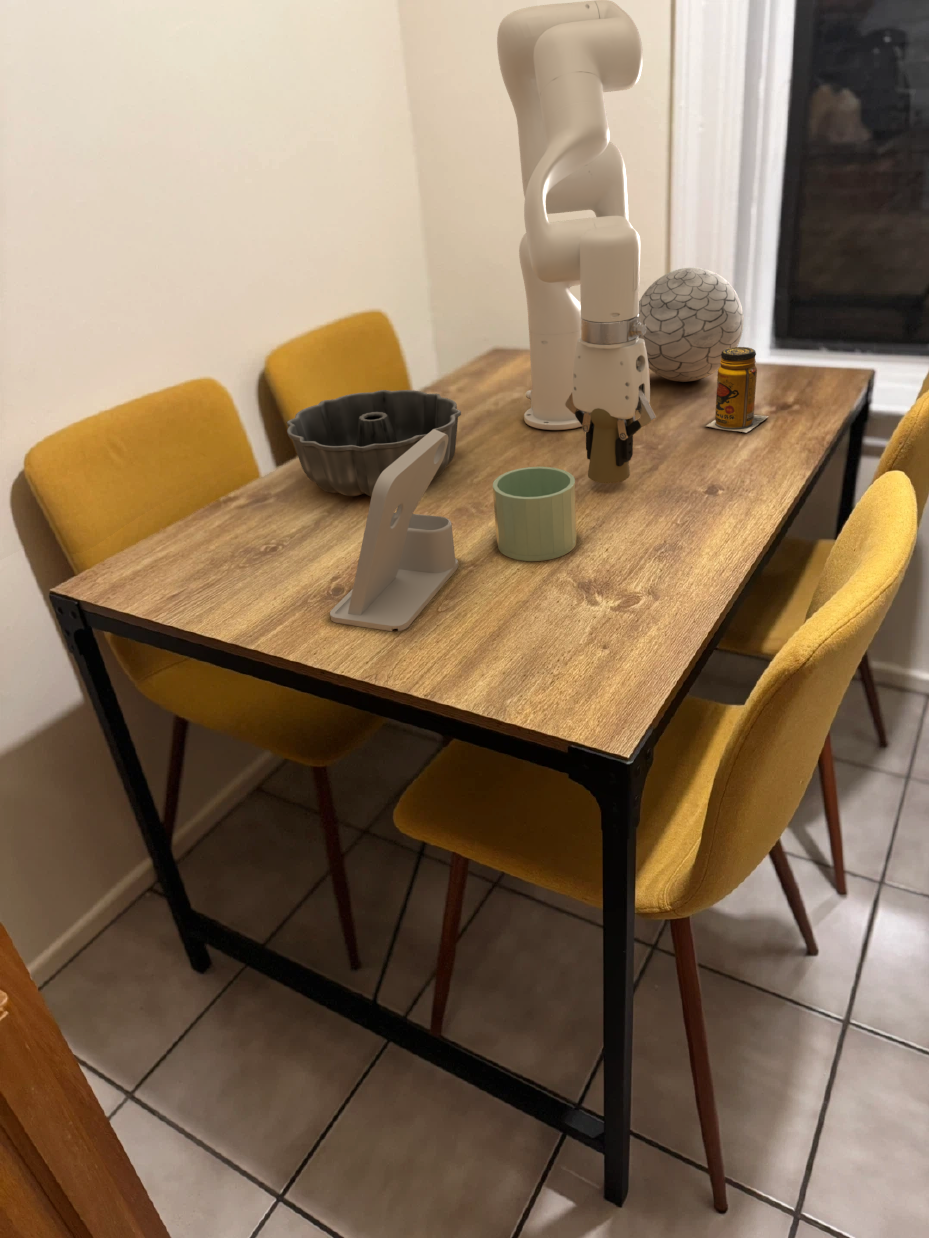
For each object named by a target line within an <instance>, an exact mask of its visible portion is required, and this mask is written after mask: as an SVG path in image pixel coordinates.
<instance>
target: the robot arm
mask: <svg viewBox="0 0 929 1238" xmlns="http://www.w3.org/2000/svg"><path fill="white" fill-rule="evenodd" d="M496 35H497V36H496V48H497V59H498V65H499V70H500V73H501V77H502V80H503V84H504V86H505V90H506V92H507V94H508V97H509V99H510V102H511V104H512V107H513V111H514V114H515V118H516V125H517V136H518V147H519V148H518V149H519V160H520V172H521V182H522V183H521V184H522V190H523V191H522V192H523V196H524V202H523V203H524V205H523V212H524V213H523V218H524V227H525V234H524V235H523V236H522V237H521V240H520V243H519V246H518V247H519V248H518V254H519V255H518V256H519V263H520V269H521V274H522V279H523V284H524V291H525V297H526V306H527V323H528V337H529V338H528V339H529V359H530V360H529V361H530V378H531V379H530V380H531V390H526V392H525V398H527V399H529V400H530V404H531V405H530V406H531V407H529V408H528V409H527V410H526V411H525V412H524V414H523V419H524V420H523V421H524V423H525V424H527V426H530V427H531V428H534V429H540V430H546V431H565V430H571V429H577V428H581V430H582V431H583V432H584V433H585V451H586V459H587V460H588V461H590V456H591V449H592V440H593V431H594V424H593V422H592V420H591V416H590V413H591V412H592V411H593V410H594V409H597V408H600V409H604V410H605V411H607V412H608V413H609V414H610V415H611V416H613V417H616V418H618V419H617V426H618V432H619V438H618V439H616V441H615V455H616V465H617V466H622V465H623V464H624V463H625V462H628V461H629V462H630V461H631V460H632V457H633V453H634V435H635V434H637V432H638V431H640V430H641V429H642V428H643V427H645V426H647V425H649V424H651V423H652V422H654V421H656V419H657V416H656V414H655V412H654V410H653V408H652V406H651V404H650V403H651V385H650V383H651V382H650V380H651V379H650V369H649V366H648V358H647V352H646V347H645V342H644V339H641V338H638V337H639V335H645V333H646V330H647V327H646V325H644V324H641V323H640V316H639V301H640V280H641V279H640V278H641V268H640V267H641V237H640V235H639V232H638V231H637V230H636V229H635V228H634V227H633V226H632V223H631V222H630V220H629V203H628V202H629V201H628V183H627V172H626V164H625V160H624V156H623V154H622V152H621V150H620V148H619V147H618V145H616V144H615V143H613V142H611V141H610V139H611V135H610V133H611V131H610V126H609V122H608V121H609V120H608V113H607V108H606V107H607V106H606V102H605V95H604V93H611V92H619V91H627V90H630V89H631V88H634V87H635V86H636V84H637V83H638V82H639V79H640V77H641V74H642V71H643V64H644V49H643V43H642V38H641V35H640V32H639V29H638V27H637V24H636V23H635V21H634V20H633V18H632V17H631V16H630V15H629V14H628V13H627V12H626V11H625V10H624V9H622V7H620V6H619V4H617V3H615V2H614V1H612V0H585V1H575V2H564V3H550V4H540V5H532V6H528V7H527V6H526V7H523V8H520V9H517V10H514V11H512V12H510V13H508V14H507V15H506V16H504V18H503V19H502V20H501V22H500V23H499V26H498V29H497V33H496ZM581 211H593V213H594V214H595V217H585V218H575V219H566V220H560V221H559V220H557V221H550V220H549V218H548V215H551V214H552V215H554V214H563V213H571V212H573V213H574V212H581ZM579 285H580V286H579ZM575 286H579V287H580V288H579V289H580V295H579V296H580V301H579V299H577V298H576V297H575V295H574V294H573V293H572V292H571V291H570V289H571V288H572V287H575ZM636 411H638V413H639V415H640V416H639V417H638V418H637V419H636Z"/></svg>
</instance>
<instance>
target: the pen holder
mask: <svg viewBox="0 0 929 1238" xmlns="http://www.w3.org/2000/svg"><path fill="white" fill-rule="evenodd" d="M492 497H493V509H494V510H493V511H494V524H495V536H496V537H495V538H496V543H497V549H498V551H499V552H500V553H501V554H502V555H504V556H506V557H507V558H509V559H513V560H517V561H523V562H543V561H549V560H553V559H554V560H555V559H558V558H560V557H563V556H565V555H567V554H569V553H570V552H571V551H573V550H574V548H575V547H576V545H577V506H576V504H577V503H576V502H577V501H576V477H574V475H573V474H572V473H571V472H569V471H567V470H565V469H562V468H558V467H553V466H528V467H521V468H516V469H513V470H509V471H506V472H504V473H502V474H500V475H498V476H497V477H496V478H495V479H494V480H493V482H492Z"/></svg>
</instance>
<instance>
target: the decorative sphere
mask: <svg viewBox="0 0 929 1238" xmlns="http://www.w3.org/2000/svg"><path fill="white" fill-rule="evenodd" d="M742 306H743V305H742V303H741V299H740V297H739V295H738V293H737V292H736V290H735V289H734V287H733V285H731V284H730V282H729V281H728V280H726V278H724V277H723V276H721V275H720V274H718V273H716V272H714V271H712V270H709V269H706V268H701V267H682V268H678V269H675V270H672V271H669V272H668V273H665V274H664V275H662V276H661V277H659V278H657V279H656V280H655V281H654V282H652V284H651V285H649V287H648V288H646V290H645V291H644V293H643V294H642V295H641V298H639V316H640V323H641V324H644V325H646V327H647V330H646V333H645V335H639V337H638V338H641V339H644V342H645V347H646V352H647V358H648V366H649V370H650V371H651V372H653V373H654V374H656V375H658V376H660V377H661V378H664V379H667V380H669V381H674V382H682V383H684V382H685V383H686V382H695V381H698V380H702V379H704V378H707V377H709V376H711V375H713V374H714V373H716V372H718V369H719V368H720V366H721V364H720V361H721V353H722V351H723V350H724V349H727V348H732V347H739V344H740V342H741V338H742V335H743V330H744V311H743V307H742Z"/></svg>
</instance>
